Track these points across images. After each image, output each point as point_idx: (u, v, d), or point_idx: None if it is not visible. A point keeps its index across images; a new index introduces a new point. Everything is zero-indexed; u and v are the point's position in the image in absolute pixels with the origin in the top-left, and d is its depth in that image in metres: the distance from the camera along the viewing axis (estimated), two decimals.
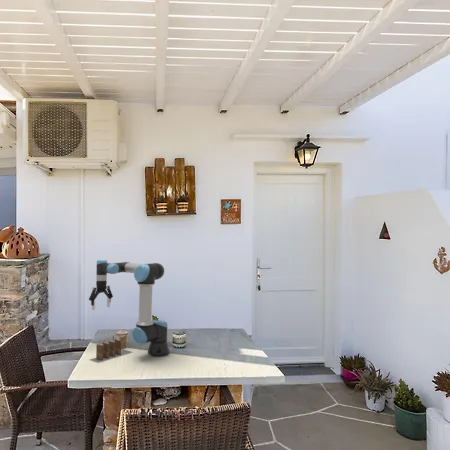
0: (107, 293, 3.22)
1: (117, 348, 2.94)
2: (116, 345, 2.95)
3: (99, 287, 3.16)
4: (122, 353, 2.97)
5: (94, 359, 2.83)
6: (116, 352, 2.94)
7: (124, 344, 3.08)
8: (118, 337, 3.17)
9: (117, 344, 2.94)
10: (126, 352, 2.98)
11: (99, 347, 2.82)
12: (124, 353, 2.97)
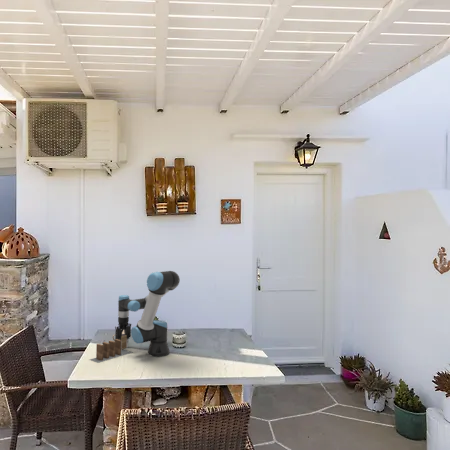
0: (127, 331, 3.10)
1: (117, 348, 2.94)
2: (116, 345, 2.95)
3: (121, 324, 3.05)
4: (122, 353, 2.97)
5: (94, 359, 2.83)
6: (116, 352, 2.94)
7: (124, 344, 3.08)
8: None
9: (117, 344, 2.94)
10: (126, 352, 2.98)
11: (99, 347, 2.82)
12: (124, 353, 2.97)
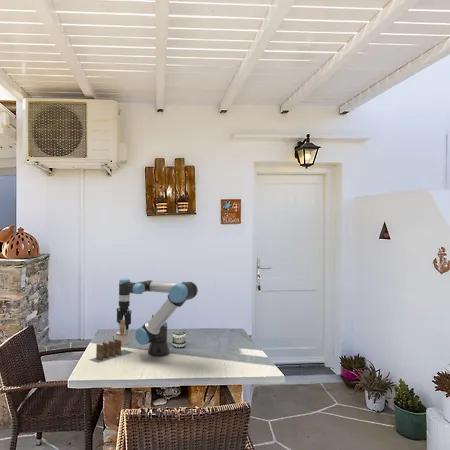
0: (125, 317, 2.97)
1: (117, 348, 2.94)
2: (116, 345, 2.95)
3: (120, 307, 3.00)
4: (122, 353, 2.97)
5: (94, 359, 2.83)
6: (116, 352, 2.94)
7: (123, 329, 2.98)
8: (118, 337, 3.17)
9: (117, 344, 2.94)
10: (126, 352, 2.98)
11: (99, 347, 2.82)
12: (124, 353, 2.97)
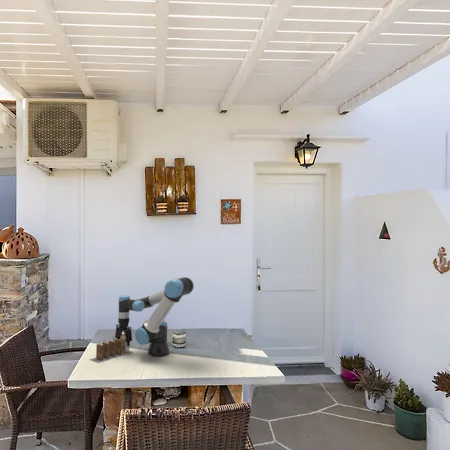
0: (125, 334, 2.96)
1: (117, 348, 2.94)
2: (116, 345, 2.95)
3: (119, 324, 3.00)
4: (122, 353, 2.97)
5: (94, 359, 2.83)
6: (116, 352, 2.94)
7: (122, 347, 2.98)
8: None
9: (117, 344, 2.94)
10: None
11: (99, 347, 2.82)
12: (124, 353, 2.97)
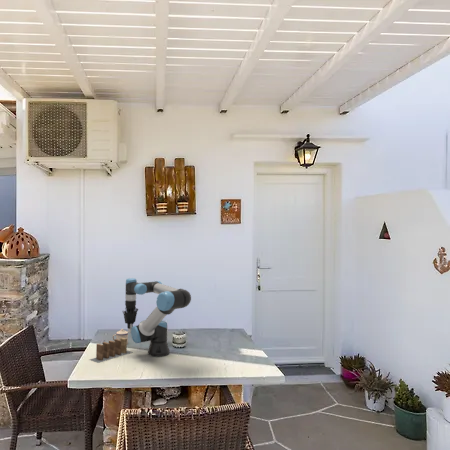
0: (132, 316, 3.04)
1: (117, 348, 2.94)
2: (116, 345, 2.95)
3: (128, 307, 3.01)
4: (122, 353, 2.97)
5: (94, 359, 2.83)
6: (116, 352, 2.94)
7: (122, 347, 2.98)
8: (118, 337, 3.17)
9: (117, 344, 2.94)
10: None
11: (99, 347, 2.82)
12: (124, 353, 2.97)
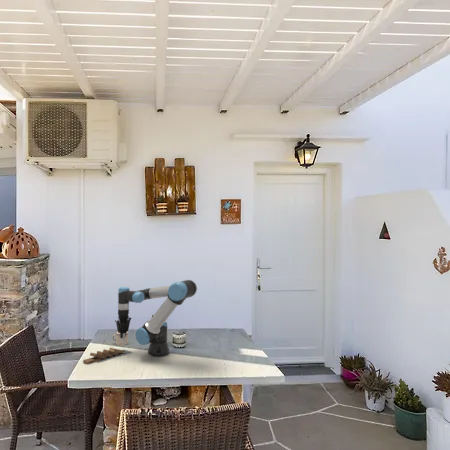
0: (125, 325, 2.99)
1: None
2: None
3: (120, 317, 2.96)
4: (122, 353, 2.97)
5: None
6: None
7: None
8: (118, 337, 3.17)
9: (109, 353, 2.88)
10: (126, 352, 2.98)
11: None
12: (124, 353, 2.97)
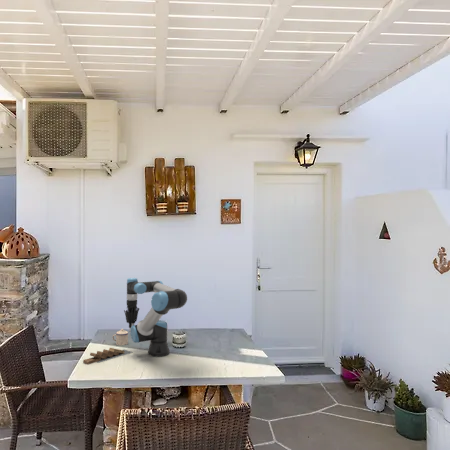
0: (134, 315, 3.06)
1: None
2: None
3: (129, 307, 3.03)
4: (122, 353, 2.97)
5: None
6: None
7: None
8: (118, 337, 3.17)
9: (109, 353, 2.88)
10: (126, 352, 2.98)
11: None
12: (124, 353, 2.97)
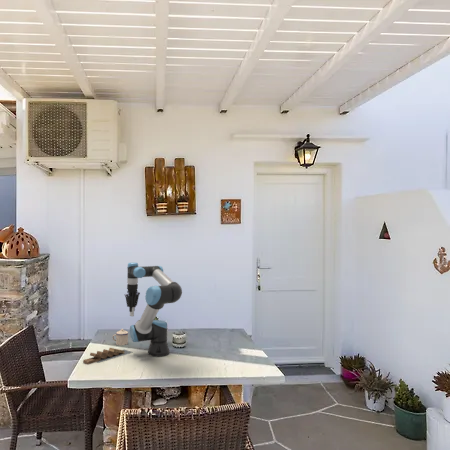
0: (134, 299, 3.09)
1: None
2: None
3: (130, 291, 3.06)
4: (122, 353, 2.97)
5: None
6: None
7: None
8: (118, 337, 3.17)
9: (109, 353, 2.88)
10: (126, 352, 2.98)
11: None
12: (124, 353, 2.97)
